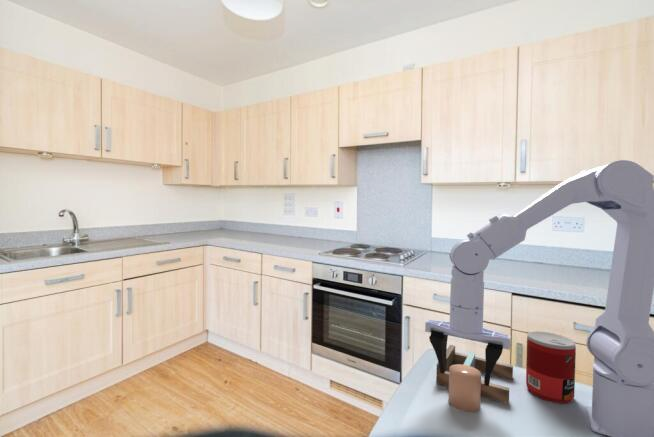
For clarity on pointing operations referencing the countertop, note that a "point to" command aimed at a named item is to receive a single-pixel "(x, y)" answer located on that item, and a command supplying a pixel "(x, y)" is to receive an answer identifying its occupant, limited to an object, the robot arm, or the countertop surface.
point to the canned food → (551, 366)
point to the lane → (480, 364)
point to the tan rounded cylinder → (465, 387)
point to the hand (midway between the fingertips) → (464, 377)
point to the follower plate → (470, 360)
